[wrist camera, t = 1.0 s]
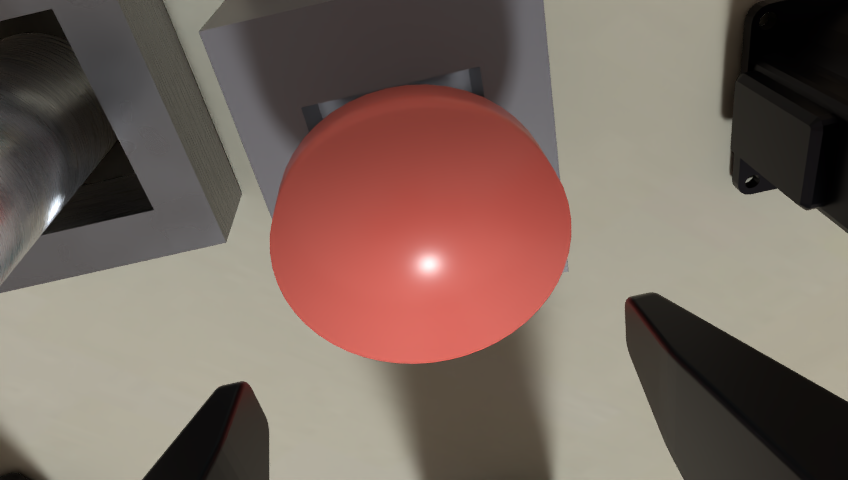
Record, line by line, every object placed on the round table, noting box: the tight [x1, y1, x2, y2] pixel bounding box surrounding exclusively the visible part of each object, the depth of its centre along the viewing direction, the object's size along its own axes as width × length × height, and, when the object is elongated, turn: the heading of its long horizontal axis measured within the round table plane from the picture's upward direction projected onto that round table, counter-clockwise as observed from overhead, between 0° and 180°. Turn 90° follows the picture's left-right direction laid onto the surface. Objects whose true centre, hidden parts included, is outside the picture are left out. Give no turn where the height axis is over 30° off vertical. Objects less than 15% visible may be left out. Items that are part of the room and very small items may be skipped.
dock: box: [199, 0, 568, 272], centre depth 17 cm, size 7×8×6 cm
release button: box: [270, 84, 571, 364], centre depth 13 cm, size 6×6×4 cm
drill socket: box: [0, 0, 242, 293], centre depth 17 cm, size 8×8×3 cm
